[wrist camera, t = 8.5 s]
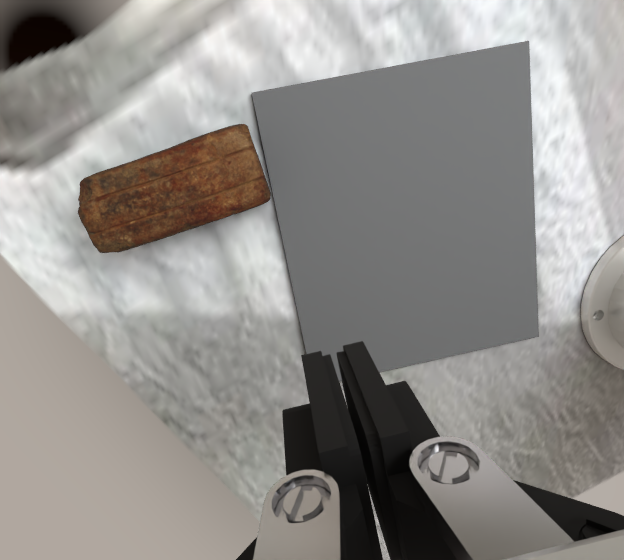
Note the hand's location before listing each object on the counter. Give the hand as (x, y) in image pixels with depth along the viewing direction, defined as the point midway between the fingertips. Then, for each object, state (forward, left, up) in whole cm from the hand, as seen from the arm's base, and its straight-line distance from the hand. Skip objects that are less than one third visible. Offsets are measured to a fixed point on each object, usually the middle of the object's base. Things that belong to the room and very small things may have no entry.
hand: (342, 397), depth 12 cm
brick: (+8, -1, -16) cm, 17 cm away
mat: (-8, 0, -20) cm, 22 cm away
